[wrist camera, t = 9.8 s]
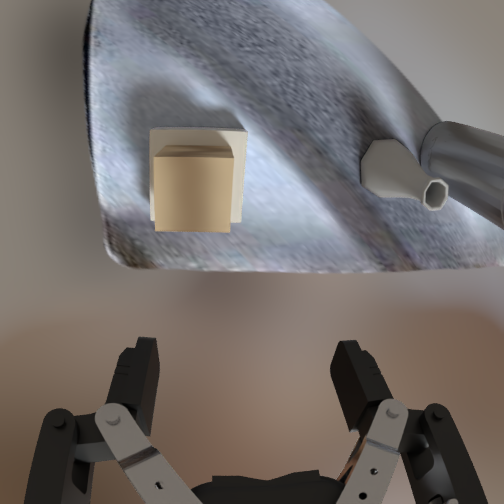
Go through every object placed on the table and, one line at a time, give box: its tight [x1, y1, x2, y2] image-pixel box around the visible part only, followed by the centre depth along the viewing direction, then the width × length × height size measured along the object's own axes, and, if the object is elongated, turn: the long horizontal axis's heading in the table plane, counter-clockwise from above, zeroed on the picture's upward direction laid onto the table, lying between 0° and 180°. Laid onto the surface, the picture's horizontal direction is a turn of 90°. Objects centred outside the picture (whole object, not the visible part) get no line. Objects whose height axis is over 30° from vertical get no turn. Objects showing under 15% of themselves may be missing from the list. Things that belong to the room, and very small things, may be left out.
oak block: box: [154, 145, 234, 233], centre depth 26 cm, size 6×6×6 cm
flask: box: [361, 139, 449, 211], centre depth 29 cm, size 7×7×10 cm
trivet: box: [149, 127, 248, 223], centre depth 30 cm, size 9×9×3 cm
